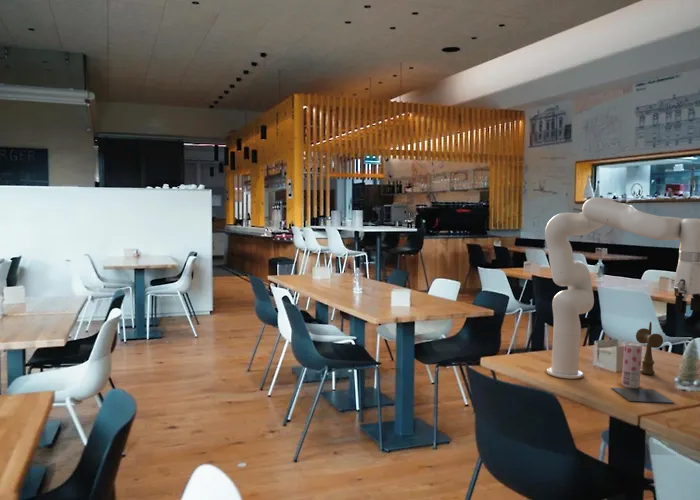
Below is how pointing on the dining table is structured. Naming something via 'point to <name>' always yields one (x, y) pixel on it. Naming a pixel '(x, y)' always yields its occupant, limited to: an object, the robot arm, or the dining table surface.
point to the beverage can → (631, 365)
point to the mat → (642, 395)
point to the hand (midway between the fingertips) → (687, 311)
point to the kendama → (648, 347)
